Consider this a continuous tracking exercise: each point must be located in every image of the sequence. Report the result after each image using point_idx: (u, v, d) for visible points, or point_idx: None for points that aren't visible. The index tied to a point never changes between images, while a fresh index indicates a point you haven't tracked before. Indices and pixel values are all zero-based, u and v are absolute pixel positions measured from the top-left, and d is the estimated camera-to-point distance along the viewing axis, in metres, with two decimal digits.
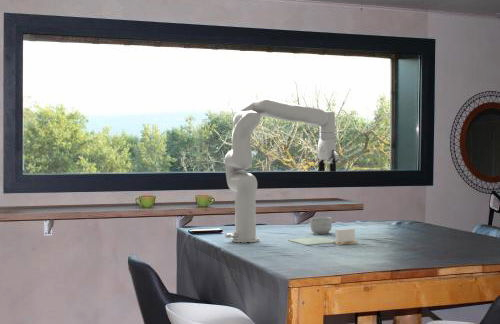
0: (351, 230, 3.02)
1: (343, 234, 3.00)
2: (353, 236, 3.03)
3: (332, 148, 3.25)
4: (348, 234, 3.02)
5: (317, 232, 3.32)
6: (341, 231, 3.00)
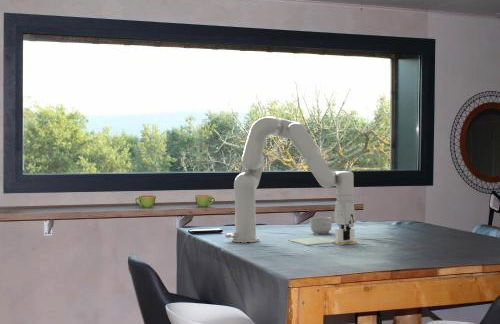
0: (351, 230, 3.02)
1: None
2: (352, 235, 3.03)
3: (351, 212, 2.97)
4: None
5: (317, 232, 3.32)
6: (341, 231, 3.00)
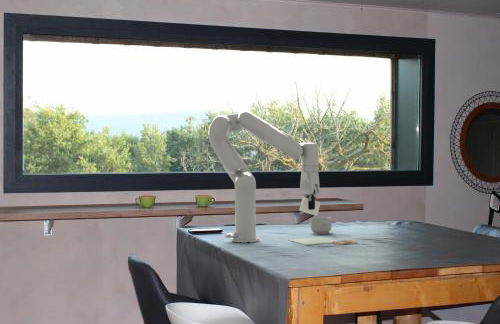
0: (317, 202, 3.12)
1: None
2: (317, 208, 3.12)
3: (315, 182, 3.06)
4: None
5: (317, 232, 3.32)
6: (307, 199, 3.09)
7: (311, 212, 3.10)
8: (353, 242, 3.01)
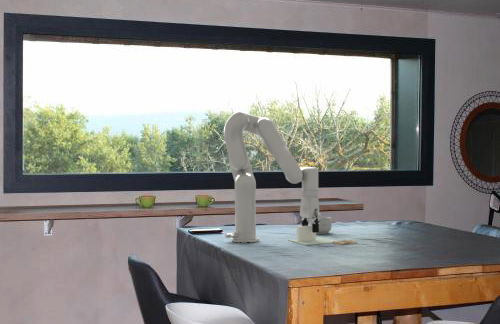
0: None
1: (304, 231, 3.09)
2: None
3: (315, 207, 3.06)
4: (309, 231, 3.10)
5: (317, 232, 3.32)
6: (302, 228, 3.08)
7: (309, 238, 3.10)
8: (353, 242, 3.01)
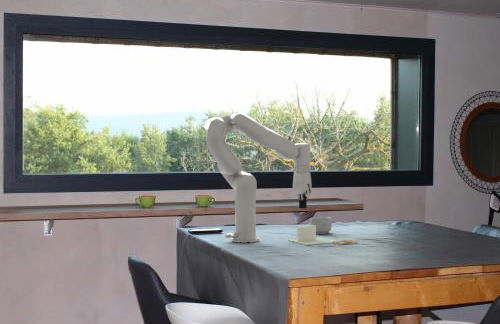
0: (312, 227, 3.10)
1: (304, 231, 3.09)
2: (314, 232, 3.11)
3: (307, 182, 3.12)
4: (309, 231, 3.10)
5: (317, 232, 3.32)
6: (302, 228, 3.08)
7: (309, 238, 3.10)
8: (353, 242, 3.01)
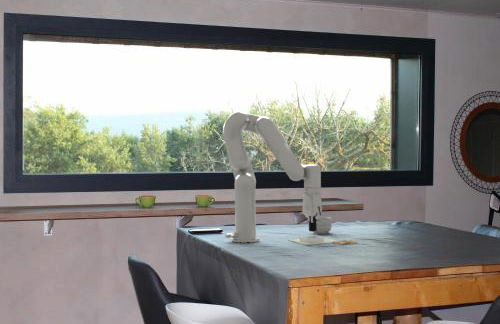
0: (319, 241, 3.05)
1: None
2: None
3: (318, 204, 3.05)
4: None
5: (317, 232, 3.32)
6: None
7: None
8: (353, 242, 3.01)
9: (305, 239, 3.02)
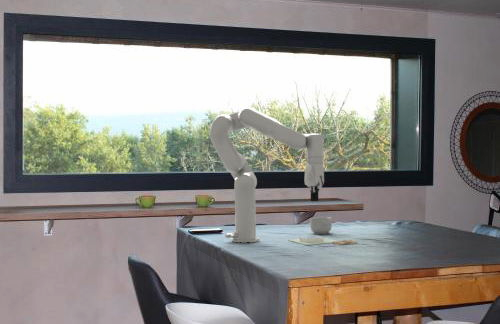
0: (319, 241, 3.05)
1: None
2: None
3: (320, 174, 3.02)
4: None
5: (317, 232, 3.32)
6: None
7: None
8: (353, 242, 3.01)
9: (305, 239, 3.02)
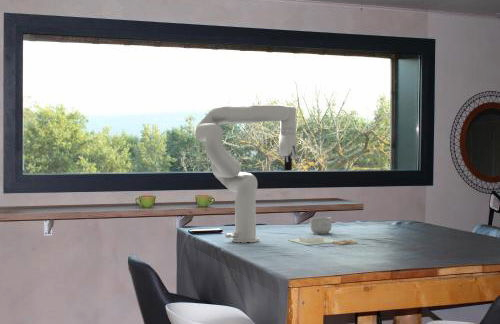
0: (319, 241, 3.05)
1: None
2: None
3: (292, 144, 3.18)
4: None
5: (317, 232, 3.32)
6: None
7: None
8: (353, 242, 3.01)
9: (305, 239, 3.02)
